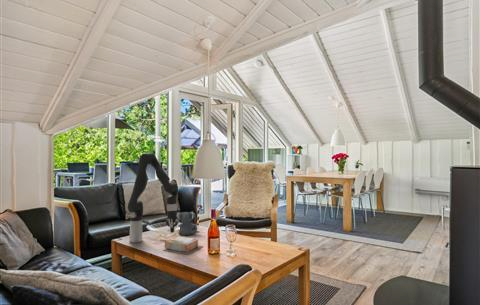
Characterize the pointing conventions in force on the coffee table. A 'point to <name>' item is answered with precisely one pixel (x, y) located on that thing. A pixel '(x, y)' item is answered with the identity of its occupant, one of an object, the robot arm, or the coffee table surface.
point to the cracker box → (181, 244)
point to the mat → (183, 251)
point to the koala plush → (186, 223)
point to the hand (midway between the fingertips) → (172, 232)
